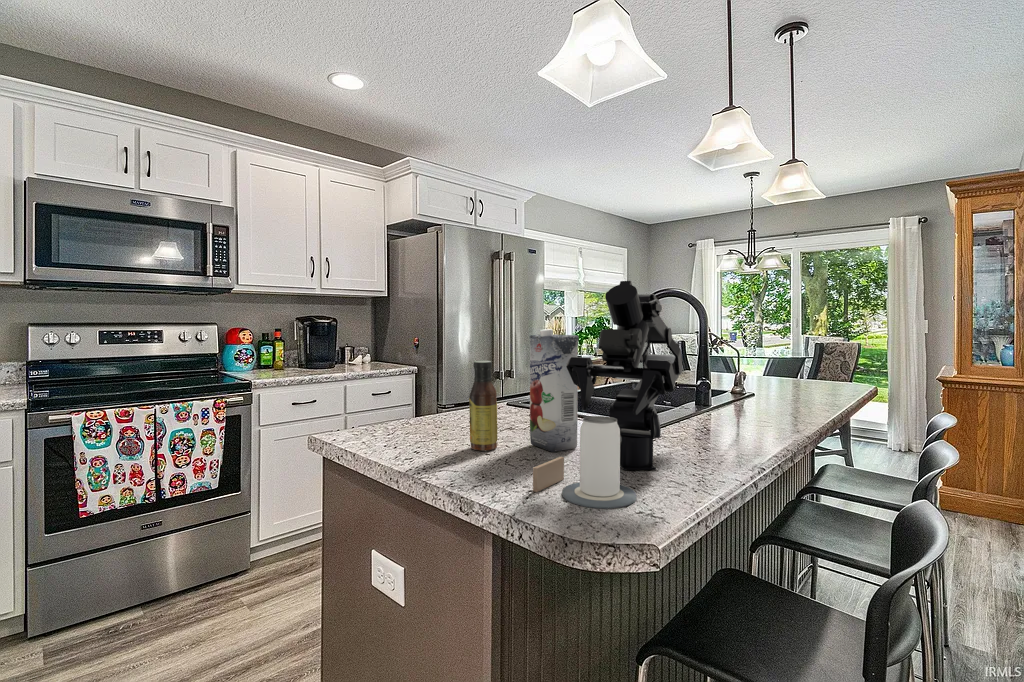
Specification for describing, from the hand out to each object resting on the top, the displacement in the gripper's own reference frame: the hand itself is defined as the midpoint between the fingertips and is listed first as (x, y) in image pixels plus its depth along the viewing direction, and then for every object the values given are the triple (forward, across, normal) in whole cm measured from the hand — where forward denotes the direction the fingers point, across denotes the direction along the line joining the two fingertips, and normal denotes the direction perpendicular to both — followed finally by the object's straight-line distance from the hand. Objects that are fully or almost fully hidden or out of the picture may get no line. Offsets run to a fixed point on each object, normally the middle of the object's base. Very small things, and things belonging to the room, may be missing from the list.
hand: (608, 411), depth 89 cm
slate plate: (+12, 0, +6) cm, 14 cm away
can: (+12, 0, +6) cm, 14 cm away
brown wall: (+12, -10, +7) cm, 17 cm away
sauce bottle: (0, -34, +19) cm, 39 cm away
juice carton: (-6, -21, +26) cm, 34 cm away
